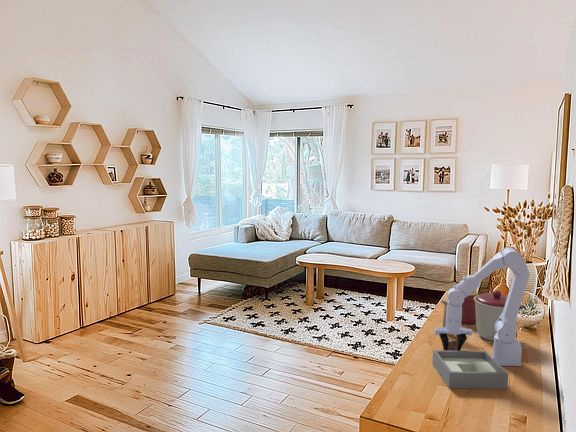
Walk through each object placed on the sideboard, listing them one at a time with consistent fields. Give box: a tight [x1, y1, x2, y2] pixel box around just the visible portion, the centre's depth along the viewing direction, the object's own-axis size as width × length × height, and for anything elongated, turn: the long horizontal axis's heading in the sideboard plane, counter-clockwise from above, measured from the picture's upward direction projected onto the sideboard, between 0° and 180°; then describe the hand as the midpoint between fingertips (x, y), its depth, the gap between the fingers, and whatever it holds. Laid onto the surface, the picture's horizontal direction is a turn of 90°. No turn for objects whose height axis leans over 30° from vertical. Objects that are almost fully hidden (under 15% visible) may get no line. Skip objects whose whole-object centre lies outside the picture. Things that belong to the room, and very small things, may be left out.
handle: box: [440, 297, 448, 328], centre depth 206 cm, size 5×6×15 cm
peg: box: [447, 338, 458, 351], centre depth 184 cm, size 4×4×6 cm
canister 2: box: [474, 289, 508, 342], centre depth 202 cm, size 18×18×21 cm
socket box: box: [431, 349, 509, 390], centre depth 167 cm, size 20×18×6 cm
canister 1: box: [461, 289, 480, 325], centre depth 223 cm, size 13×13×18 cm
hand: (451, 351), depth 184 cm, fingers open, 4 cm apart
